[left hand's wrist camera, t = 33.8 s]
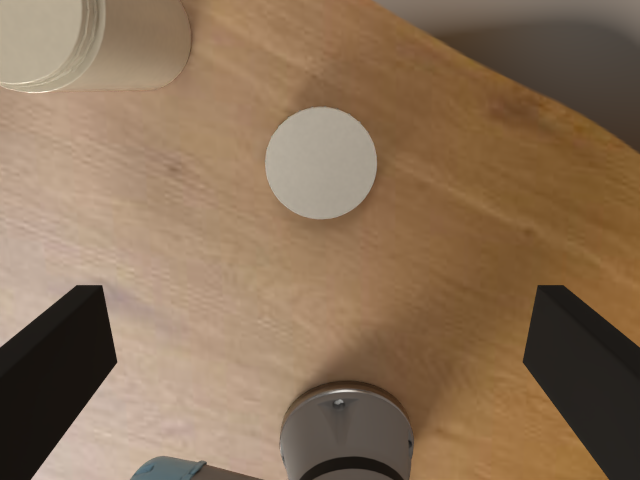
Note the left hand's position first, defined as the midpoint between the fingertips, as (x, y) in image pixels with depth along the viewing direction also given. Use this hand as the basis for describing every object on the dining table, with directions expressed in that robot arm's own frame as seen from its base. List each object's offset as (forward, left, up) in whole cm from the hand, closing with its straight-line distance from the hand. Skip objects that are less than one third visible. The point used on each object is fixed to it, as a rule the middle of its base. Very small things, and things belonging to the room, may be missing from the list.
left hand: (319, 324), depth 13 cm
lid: (0, 0, -26) cm, 26 cm away
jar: (+19, 0, -28) cm, 33 cm away
